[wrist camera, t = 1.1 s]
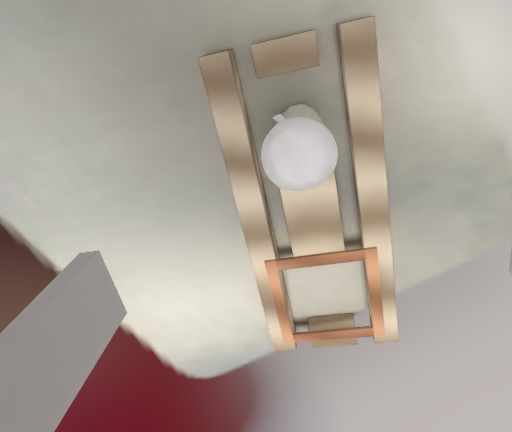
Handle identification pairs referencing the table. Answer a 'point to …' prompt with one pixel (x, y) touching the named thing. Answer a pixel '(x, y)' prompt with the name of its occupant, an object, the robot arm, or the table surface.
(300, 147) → the milkshake
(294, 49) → the wooden slide rule
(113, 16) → the table surface
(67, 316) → the robot arm
